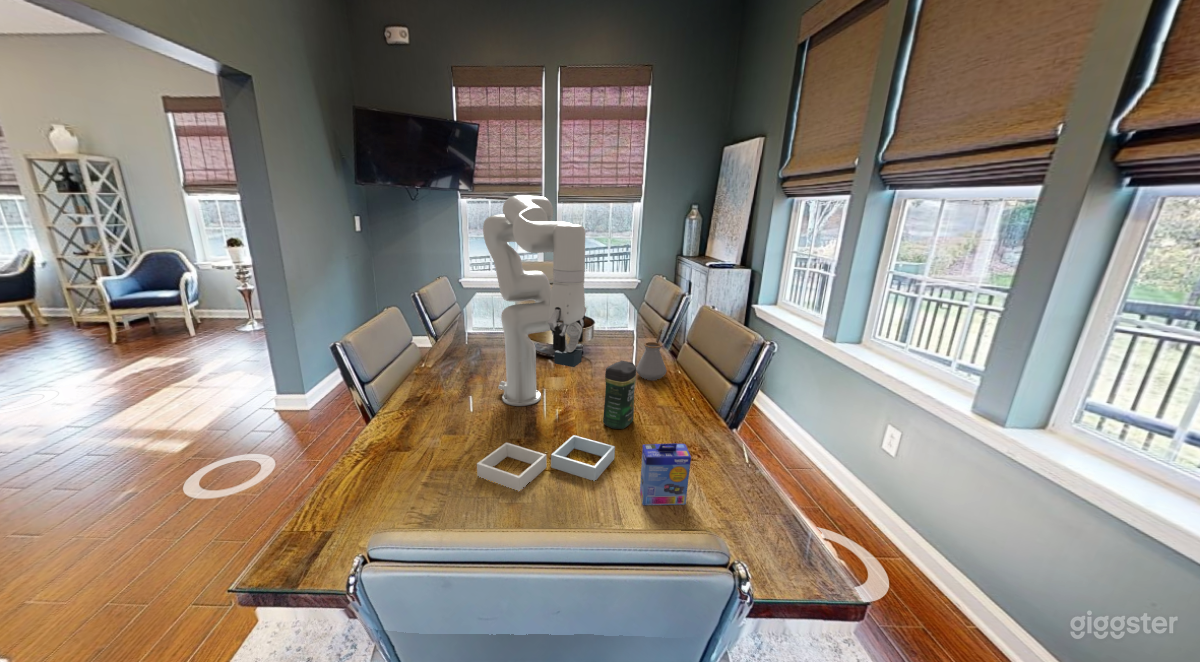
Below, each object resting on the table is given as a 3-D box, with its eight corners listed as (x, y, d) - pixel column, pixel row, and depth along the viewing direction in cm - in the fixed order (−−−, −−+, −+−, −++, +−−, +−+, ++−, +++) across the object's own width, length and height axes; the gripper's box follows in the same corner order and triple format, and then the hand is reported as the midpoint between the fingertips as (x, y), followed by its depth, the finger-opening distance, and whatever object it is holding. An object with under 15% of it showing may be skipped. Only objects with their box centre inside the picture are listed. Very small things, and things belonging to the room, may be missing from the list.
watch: (584, 359, 116) (585, 318, 113) (570, 369, 109) (571, 326, 106) (565, 356, 118) (566, 316, 115) (550, 365, 111) (550, 323, 108)
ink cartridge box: (642, 507, 95) (646, 446, 91) (638, 491, 100) (641, 433, 97) (687, 505, 96) (693, 446, 92) (681, 490, 101) (686, 432, 97)
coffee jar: (623, 432, 126) (626, 371, 121) (599, 425, 130) (600, 366, 125) (637, 419, 134) (640, 361, 129) (614, 413, 138) (616, 356, 133)
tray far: (551, 467, 109) (551, 454, 108) (573, 446, 118) (573, 435, 117) (594, 481, 104) (595, 468, 103) (614, 458, 113) (614, 446, 112)
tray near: (477, 476, 104) (476, 463, 103) (506, 454, 114) (506, 442, 113) (519, 491, 99) (519, 478, 98) (546, 467, 109) (546, 454, 108)
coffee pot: (662, 384, 162) (665, 345, 158) (632, 379, 165) (633, 341, 161) (673, 365, 181) (676, 330, 177) (646, 362, 185) (648, 327, 181)
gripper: (573, 271, 116) (572, 335, 121) (535, 280, 101) (536, 352, 106) (598, 273, 113) (597, 339, 118) (563, 283, 98) (563, 358, 103)
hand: (568, 345), depth 112 cm, fingers closed on watch, 8 cm apart
